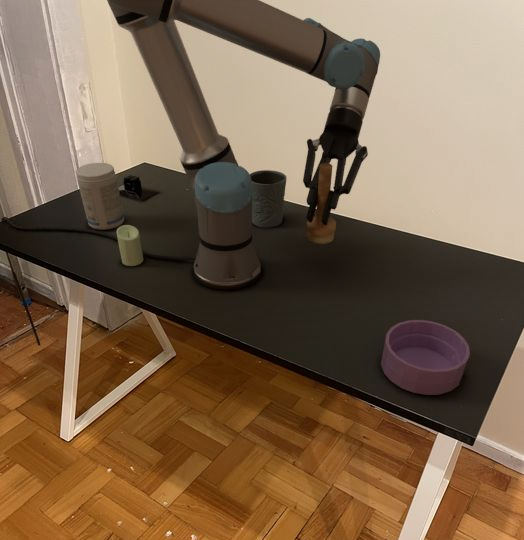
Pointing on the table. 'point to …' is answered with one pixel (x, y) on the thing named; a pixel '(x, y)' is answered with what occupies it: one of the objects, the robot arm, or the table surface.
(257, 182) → the grey green cup
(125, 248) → the candle
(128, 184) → the black stepped block
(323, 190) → the dish brush
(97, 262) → the table surface
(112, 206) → the supplement tub
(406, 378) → the lilac bowl
